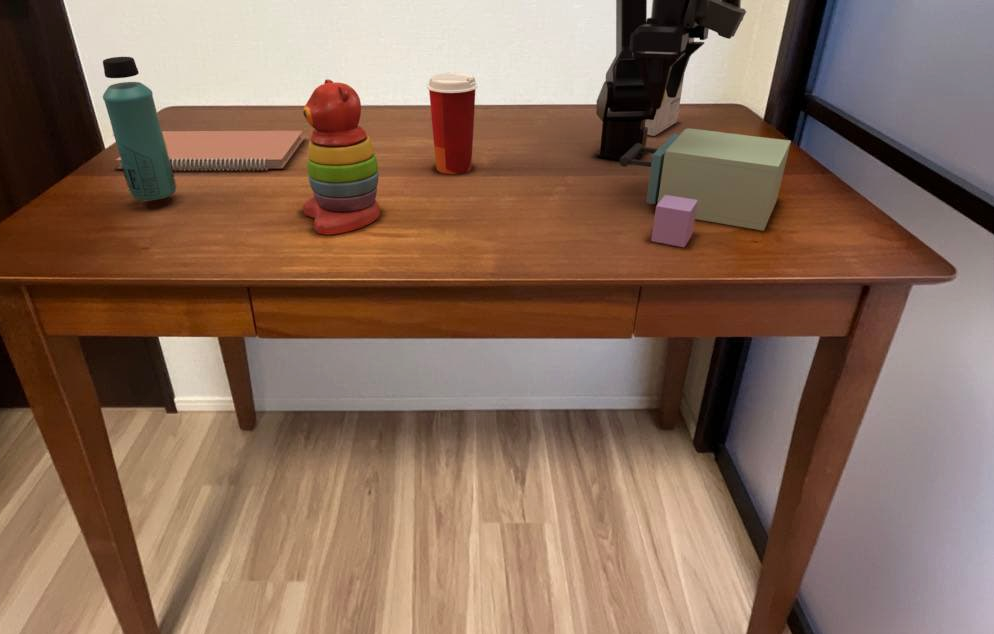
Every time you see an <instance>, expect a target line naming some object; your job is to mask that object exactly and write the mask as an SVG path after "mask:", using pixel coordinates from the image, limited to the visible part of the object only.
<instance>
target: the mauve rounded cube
mask: <svg viewBox="0 0 994 634" xmlns="http://www.w3.org/2000/svg"><path fill="white" fill-rule="evenodd" d="M697 205H698V200H695V199H688V198H682V197H676V196H670V195H665V196H664V197H663V198H662V199H661V201H660V202H659V203H658V202H657V204H656V206H655V211H654V219H653V225H652V234H651V239H650V241H651V242H653V243H659V244H665V245H669V246H674V247H680V248H685V247H686V246H687V244H688V243H689V241H690V239H691V238H692V236H693V233H694V227H695V221H696V219H695V216H696V210H697Z"/></svg>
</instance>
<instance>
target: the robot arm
mask: <svg viewBox="0 0 994 634" xmlns="http://www.w3.org/2000/svg"><path fill="white" fill-rule="evenodd" d="M741 5H742V0H652V4H651V12H650V17H647V15H648V9H647V8H648V0H615V19H616V20H615V56H614V58H613V60H612V62H611V64H610V66H609V68H608V69H607V71H606V73H605V81H604V82H603V84H602V86H601V89H600V91H599V94H598V96H597V99H596V107H595V108H596V110H595V111H596V115H597V117H598V118H599V119H600V121H601V122H602V127H601V136H600V137H601V139H600V147H599V151H597V153H596V154H595V156H596V158H601V159H608V160H614V161H620V158H621V157H622V156H623V155H625V154H626V153H627V152H628V151H629V150H630V149H631V148H632V147H633V146H634V145H635V144H636V143H640V144H642V146H643V147H647V140H648V135H647V132H648V128H647V127H645V121H646V120H654V117H655V115H656V111H657V109H660V108H661V105H662V101H663V98H664V94H665V91H666V92H667V96H668V97H669V98H675V97H676V95H677V93H678V90H679V87H680V84H681V81H682V78H683V75H684V76H685V72H686V70H687V66H688V64H689V61H690V58H691V56H692V55H693V54H694V53H696V52H697V51H698V50H699V49H700V48H701V47H703V45H705V44H706V43H705V40H707V39H708V38H709V30H710V31H713V32H715V33H717V35H718V36H719V37H722V38H724V39H728V40H729V39H731V38H733V37H735V35H736V33H737V31H738V29H739V27H740V25H741V23H742V21H744V17H745V16H746V13H747V10H746V8H743V7H742V8H741ZM695 39H699V41H695ZM644 153H645V152H641V153H640V154H639V155H638V156H637V157H636V158H635V160H639V158H640V157H641V156H642V155H643V154H644Z"/></svg>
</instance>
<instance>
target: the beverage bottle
mask: <svg viewBox="0 0 994 634" xmlns="http://www.w3.org/2000/svg"><path fill="white" fill-rule="evenodd" d="M102 66H103V73H104V76H105V78H107V79H125V78H130V77H135V76H137V75H139V74H140V73H139V69H138V67H137V63H136V61H135V59H134V58H133V57H132V56H113V57H109V58H105V59H103V60H102ZM102 100H103V101H104V105H105V107H106V111H107V115H108V118H109V122H110V126H111V130H112V134H113V137H114V140H115V143H116V147H117V151H118V155H119V157H118V158H120V157H121V160H120V161H121V162H122V164H123V166H122V168H124V169H122V172H123V175H124V179H125V182H126V185H127V188H128V191H129V193H130V194H131V196H132V197H133V199H135V200H138V201H144V202H145V201H146V202H147V201H156V200H162V199H165V198H169V197H171V196H172V195H174V194H175V193H176V190H177V186H178V185H177V182H176V179H175V174H174V169H171V167H172V165H170V163H171V161H169V159H170V158H169V157H168V152H167V150H168V149H166V144H165V143H166V142H165V141H164V137H163V133H162V127H161V122H160V120H159V116H158V112H157V111H158V110H157V108H156V105H155V99H154V96H153V91H152V90H151V88H149V86H147V85H145V84H143V83H142V82H139V81H123V82H117V83H114V84H111V85H109V86H108V87H107V88H106V90H105V91H104V92H103V94H102Z"/></svg>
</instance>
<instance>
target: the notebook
mask: <svg viewBox="0 0 994 634" xmlns="http://www.w3.org/2000/svg"><path fill="white" fill-rule="evenodd" d="M161 131H162V130H161ZM162 133H163V137H164V141H165V142H166V143H165V144H166V149H168V150H167V152H168V157H169V158H170V159H169V161H171V163H170V165H172V167H171V169H173V171H174V172H175V171H180V172H181V171H185V172H186V171H187V172H188V171H189V172H190V171H202V172H203V171H205V172H206V171H221V172H222V171H251V170H252V171H259V170H260V171H269V169H271V170H273V169H284V167H285V166H286V165H287V164H288V162H289V161H290V159H291V158H292V156H293V155H294V154H295V152H296V151H297V149H298V148H299V147H300V145H301V144H302V142H303V141H304V140H305V137H302V136H301V135H302V134H303V133H304V130H177V131H176V130H171V131H170V130H169V131H168V130H165V131H162ZM119 157H120V156H119ZM119 157H117V158H116V159H114V160H115V162H118V165H119V166H117V169H118V170H123V169H124V168H122V166H123V164H122V162H121V161H120V160H121V157H120V158H119Z"/></svg>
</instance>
